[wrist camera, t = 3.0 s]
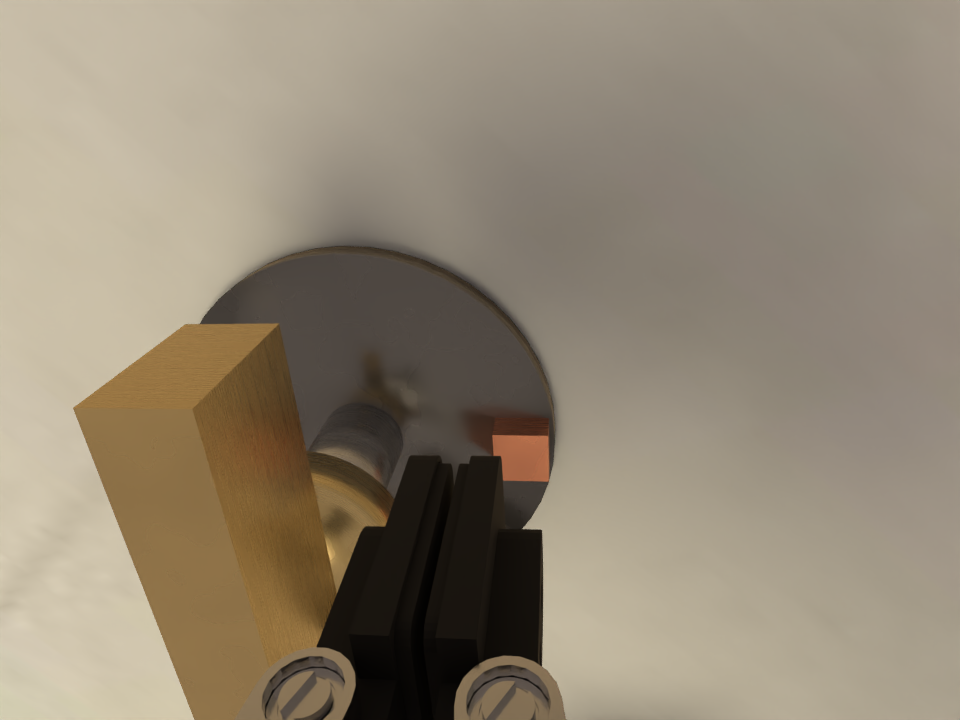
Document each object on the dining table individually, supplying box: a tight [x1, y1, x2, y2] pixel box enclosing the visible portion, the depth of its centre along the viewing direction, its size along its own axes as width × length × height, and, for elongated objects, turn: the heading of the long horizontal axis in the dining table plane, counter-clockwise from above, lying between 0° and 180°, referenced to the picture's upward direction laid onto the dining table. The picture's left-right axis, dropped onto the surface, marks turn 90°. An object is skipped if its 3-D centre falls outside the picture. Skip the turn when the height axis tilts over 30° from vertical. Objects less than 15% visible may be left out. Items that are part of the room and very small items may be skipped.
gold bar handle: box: [73, 323, 394, 720], centre depth 18 cm, size 9×16×6 cm, turn 4°
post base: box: [200, 246, 555, 529], centre depth 24 cm, size 15×15×6 cm
